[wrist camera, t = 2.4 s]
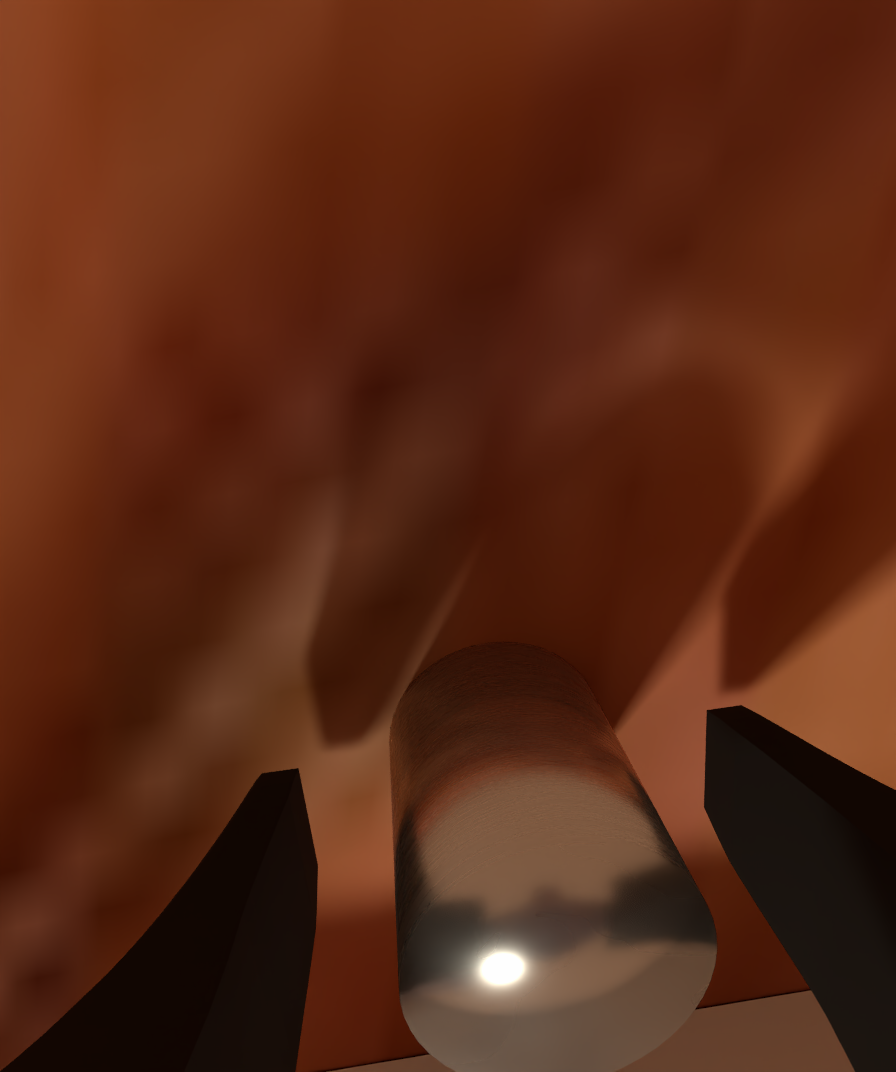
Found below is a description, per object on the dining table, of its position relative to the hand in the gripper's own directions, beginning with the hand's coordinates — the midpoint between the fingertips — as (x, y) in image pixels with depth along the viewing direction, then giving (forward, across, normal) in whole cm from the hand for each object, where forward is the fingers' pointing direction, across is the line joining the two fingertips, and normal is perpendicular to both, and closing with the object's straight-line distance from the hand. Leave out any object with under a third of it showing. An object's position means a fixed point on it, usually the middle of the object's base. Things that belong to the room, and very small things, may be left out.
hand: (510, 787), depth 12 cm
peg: (+2, 0, 0) cm, 2 cm away
